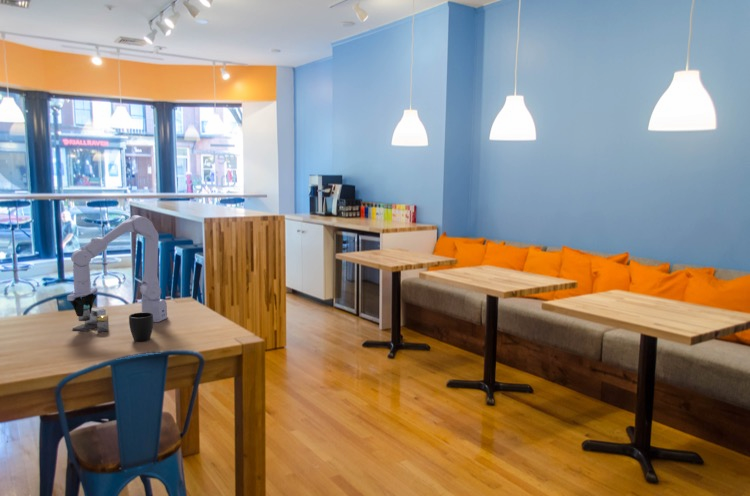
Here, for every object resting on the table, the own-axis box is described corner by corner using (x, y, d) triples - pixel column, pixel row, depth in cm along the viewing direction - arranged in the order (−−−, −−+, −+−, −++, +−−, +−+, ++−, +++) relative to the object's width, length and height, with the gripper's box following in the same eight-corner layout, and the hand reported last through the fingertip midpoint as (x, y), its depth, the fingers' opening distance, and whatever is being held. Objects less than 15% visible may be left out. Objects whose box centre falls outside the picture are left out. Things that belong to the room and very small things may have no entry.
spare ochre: (111, 330, 217) (110, 315, 216) (104, 333, 213) (103, 318, 212) (101, 329, 218) (101, 314, 217) (94, 332, 214) (94, 317, 213)
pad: (96, 327, 221) (96, 325, 220) (86, 331, 215) (86, 329, 215) (83, 326, 222) (83, 324, 221) (72, 330, 216) (72, 328, 216)
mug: (159, 333, 214) (158, 309, 213) (150, 343, 202) (149, 317, 201) (137, 333, 213) (136, 309, 212) (126, 343, 202) (125, 317, 200)
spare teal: (92, 318, 220) (91, 303, 219) (86, 321, 216) (85, 306, 215) (82, 318, 220) (81, 303, 219) (76, 321, 216) (75, 306, 215)
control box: (106, 323, 226) (105, 308, 225) (98, 326, 221) (97, 311, 220) (92, 322, 227) (91, 307, 226) (84, 325, 222) (83, 310, 222)
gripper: (85, 276, 223) (87, 309, 225) (59, 283, 209) (61, 318, 211) (101, 277, 222) (103, 310, 224) (75, 284, 208) (77, 319, 210)
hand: (83, 314), depth 217 cm, fingers closed on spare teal, 4 cm apart
